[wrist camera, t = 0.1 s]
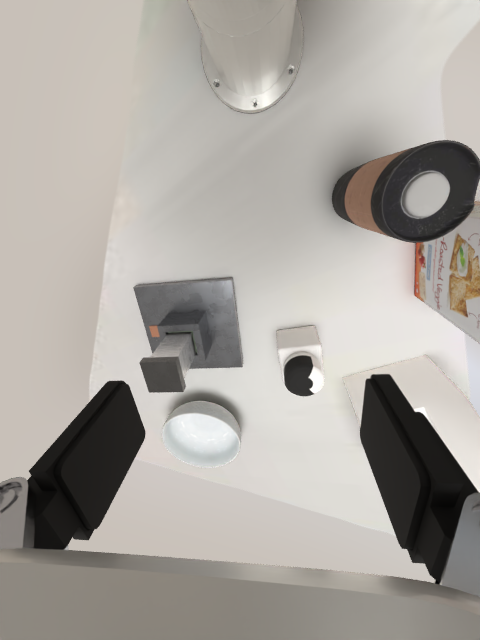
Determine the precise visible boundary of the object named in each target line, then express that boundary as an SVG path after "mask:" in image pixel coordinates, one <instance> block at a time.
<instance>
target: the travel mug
mask: <svg viewBox="0 0 480 640" xmlns="http://www.w3.org/2000/svg"><path fill="white" fill-rule="evenodd" d="M479 179H480V160H479V158H478V157H477V155H476V154H475V153H474V152H473V151H472V149H470V148H469V147H468V146H466V145H464V144H462V143H460V142H456V141H449V140H443V141H435V142H430V143H427V144H423V145H420V146H417V147H414V148H410V149H407V150H404V151H401V152H397V153H394V154H391V155H388V156H385V157H381V158H378V159H375V160H372V161H370V162H368V163H365V164H363V165H361V166H359V167H356V168H354V169H352V170H350V171H348V172H347V173H346V174H344V175H343V176H342V177H341V178H340V179H339V181H338V182H337V184H336V186H335V188H334V191H333V196H332V202H333V207H334V209H335V211H336V213H337V214H338V215H339V216H340V217H342V218H343V219H345V220H347V221H349V222H351V223H353V224H355V225H357V226H360V227H362V228H365V229H368V230H371V231H374V232H377V233H380V234H384V235H387V236H390V237H393V238H396V239H399V240H402V241H406V242H413V243H422V242H428V241H432V240H435V239H438V238H440V237H442V236H444V235H446V234H448V233H450V232H451V231H453V230H454V229H455V228H457V227H458V226H459V225H460V224H461V223H462V222H463V221H464V220H465V219H466V218H467V217H468V216H469V215H470V213H471V212H472V211H473V209H474V199H475V194H476V190H477V186H478V183H479Z"/></svg>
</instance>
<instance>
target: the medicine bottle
mask: <svg viewBox="0 0 480 640" xmlns="http://www.w3.org/2000/svg"><path fill="white" fill-rule="evenodd" d="M277 351H278V357H279V363H280V368H281V374H282V380H283V383H285V386H286V387H287V389H288V390H289V391H290V392H292V393H293V394H296V395H299V396H310V395H313V394H315V393H317V392H318V391H319V390H320V389H321V388H322V387H323V385H324V368H323V357H322V346H321V343H320V340H319V337H318V334H317V331H316V328H315V326H307V327H299V328H292V329H284V330H278V331H277Z"/></svg>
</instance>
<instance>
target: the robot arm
mask: <svg viewBox="0 0 480 640" xmlns="http://www.w3.org/2000/svg"><path fill="white" fill-rule="evenodd" d="M187 1H188V4H189V6H190V9H191V11H192V13H193V16H194V18H195V20H196V22H197V25H198V27H199V29H200V32H201V34H202V38H201V55H202V62H203V67H204V71H205V74H206V77H207V79H208V82H209V84H210V86H211V88H212V89H213V91H214V92H215V94H216V95H217V97H218V98H219V99H220V100H221V101H222V102H223V103H224V104H226V105H227V106H229V107H230V108H232V109H234V110H236V111H239V112H243V113H256V112H260V111H263V110H266V109H268V108H270V107H271V106H273V105H275V104H276V103H277V102H278V101H279V100H280V99H281V98H282V97H283V96H284V95H285V94H286V92H287V91H288V90H289V88H290V87H291V85H292V83H293V81H294V79H295V77H296V74H297V72H298V69H299V66H300V61H301V57H302V50H303V26H302V19H301V15H300V12H299V9H298V6H297V4H296V0H187ZM289 70H292V71H293V73H292V74H289ZM217 83H218V84H219V87H216V84H217ZM254 103H256V104H257V106H256V107H254V106H253V105H254ZM360 438H361V442H362V445H363V447H364V450H365V453H366V456H367V458H368V461H369V464H370V466H371V469H372V472H373V474H374V477H375V480H376V483H377V485H378V488H379V491H380V493H381V496H382V499H383V502H384V504H385V507H386V510H387V512H388V515H389V518H390V521H391V523H392V526H393V529H394V531H395V534H396V537H397V540H398V542H399V544H400V546H401V547H402V549H407V550H408V552H409V555H410V557H411V560H412V562H413V563H425V564H426V567H427V569H428V571H429V574H430V575H431V576H432V577H433V578H434V579H435V580H434V583H430V582H426V581H419V580H413V579H406V578H399V577H393V576H383V575H374V574H364V573H354V572H344V571H334V570H323V569H311V568H299V567H286V566H274V565H262V564H250V563H237V562H224V561H211V560H198V559H185V558H172V557H158V556H145V555H130V554H116V553H101V552H86V551H73V550H68V544H69V542H70V540H71V538H72V537H73V538H74V539H79V540H89V538H90V536H91V535H92V533H93V531H94V529H97V528H98V527H99V525H100V524H101V522H102V520H103V518H104V516H105V514H106V512H107V510H108V509H109V507H110V505H111V503H112V501H113V499H114V497H115V495H116V493H117V491H118V489H119V487H120V485H121V484H122V481H123V480H124V478H125V476H126V474H127V471H128V470H129V468H130V466H131V464H132V462H133V460H134V458H135V457H136V455H137V453H138V451H139V449H140V447H141V445H142V443H143V441H144V439H145V429H144V426H143V424H142V421H141V418H140V415H139V412H138V410H137V407H136V404H135V401H134V398H133V396H132V393H131V390H130V387H129V385H128V384H126V383H125V382H124V381H108V382H107V383H106V384H105V385H104V386H103V387H102V388H101V390H100V391H99V392H98V393H97V394H96V395H95V396H94V398H93V399H92V400H91V401H90V402H89V403H88V404H87V406H86V407H85V408H84V409H83V410H82V411H81V412H80V413H79V415H78V416H77V417H76V418H75V419H74V420H73V421H72V423H71V424H70V425H69V426H68V427H67V428H66V429H65V431H64V432H63V433H62V434H61V435H60V436H59V438H57V440H56V441H55V442H54V443H53V444H52V445H51V447H50V448H49V449H48V450H47V451H46V452H45V453H44V454H43V456H42V457H41V458H40V459H39V460H38V461H37V462H36V464H35V465H34V466H33V467H32V468H31V469H30V470H29V472H30V474H31V475H32V476H31V477H30V478H29V479H28V480H26V479H25V478H22V477H16V478H11V479H8V480H6V481H3V482H1V483H0V640H480V493H479V492H478V490H477V489H476V488H475V486H474V485H473V483H472V482H471V480H470V479H469V478H468V476H467V475H466V473H465V472H464V470H463V469H462V468H461V466H460V465H459V463H458V462H457V460H456V459H455V458H454V456H453V455H452V453H451V452H450V451H449V449H448V448H447V446H446V445H445V443H444V442H443V441H442V439H441V438H440V436H439V435H438V433H437V432H436V431H435V429H434V428H433V426H432V425H431V423H430V422H429V421H428V419H427V418H426V417H425V415H424V414H423V413H421V412H415V411H414V409H413V408H412V406H411V405H410V403H409V402H408V400H407V399H406V397H405V396H404V394H403V393H402V391H401V390H400V388H399V387H398V385H397V384H396V382H395V381H394V379H393V378H392V376H391V375H390V374H372V375H371V378H369V379H366V381H365V390H364V399H363V408H362V418H361V427H360Z"/></svg>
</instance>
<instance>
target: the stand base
mask: <svg viewBox="0 0 480 640" xmlns="http://www.w3.org/2000/svg"><path fill="white" fill-rule="evenodd" d="M133 288H134V291H135V295H136V298H137V302H138V305H139V308H140V312H141V315H142V319H143V322H144V326H145V329H146V333H147V336H148V339H149V343H150V346H151V350H152V353H154V351H155V350H156V349H157V347H158V346H159V345H160V343H161V342H162V340H163V339H164V338H165V336H166V335H167V334H168V332H182V331H193V334H194V339H195V344H196V349H197V353H196V355H195V357H194V359H193V361H192V363H191V365H190V368H189V369H194V368H230V367H243V358H242V350H241V342H240V333H239V325H238V317H237V309H236V301H235V293H234V285H233V278H220V279H207V280H194V281H181V282H168V283H155V284H142V285H136V286H135V287H133Z"/></svg>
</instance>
